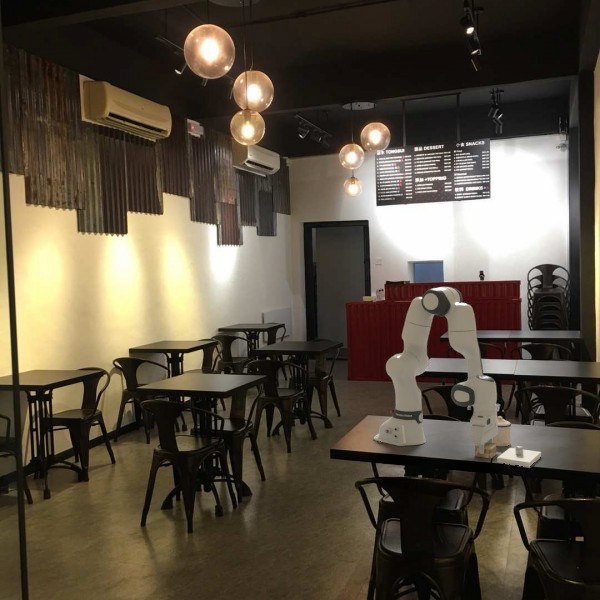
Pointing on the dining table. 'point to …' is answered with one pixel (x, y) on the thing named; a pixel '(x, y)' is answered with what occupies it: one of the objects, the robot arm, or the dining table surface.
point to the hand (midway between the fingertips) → (485, 451)
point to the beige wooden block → (486, 450)
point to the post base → (519, 457)
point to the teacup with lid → (502, 433)
